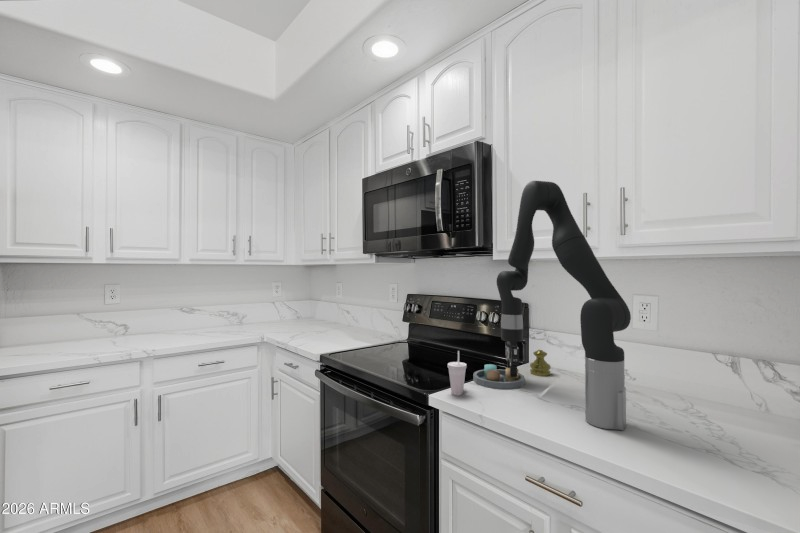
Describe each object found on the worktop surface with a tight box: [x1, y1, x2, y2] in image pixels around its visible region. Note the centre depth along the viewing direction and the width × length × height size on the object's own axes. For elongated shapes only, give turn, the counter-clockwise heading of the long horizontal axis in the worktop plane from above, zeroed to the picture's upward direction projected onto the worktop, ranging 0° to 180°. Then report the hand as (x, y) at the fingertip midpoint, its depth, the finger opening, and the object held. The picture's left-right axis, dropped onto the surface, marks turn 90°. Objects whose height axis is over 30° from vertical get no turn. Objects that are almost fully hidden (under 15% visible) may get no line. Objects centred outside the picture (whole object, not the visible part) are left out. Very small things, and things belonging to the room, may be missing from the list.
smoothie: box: [447, 350, 468, 396], centre depth 124 cm, size 6×6×14 cm
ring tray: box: [472, 368, 526, 390], centre depth 134 cm, size 18×18×3 cm
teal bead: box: [483, 363, 498, 379], centre depth 139 cm, size 4×4×4 cm
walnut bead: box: [487, 370, 500, 382], centre depth 130 cm, size 4×4×4 cm
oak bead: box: [505, 367, 519, 382], centre depth 133 cm, size 4×4×4 cm
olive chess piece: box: [529, 349, 552, 377], centre depth 144 cm, size 7×7×10 cm
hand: (512, 374), depth 134 cm, fingers open, 5 cm apart
